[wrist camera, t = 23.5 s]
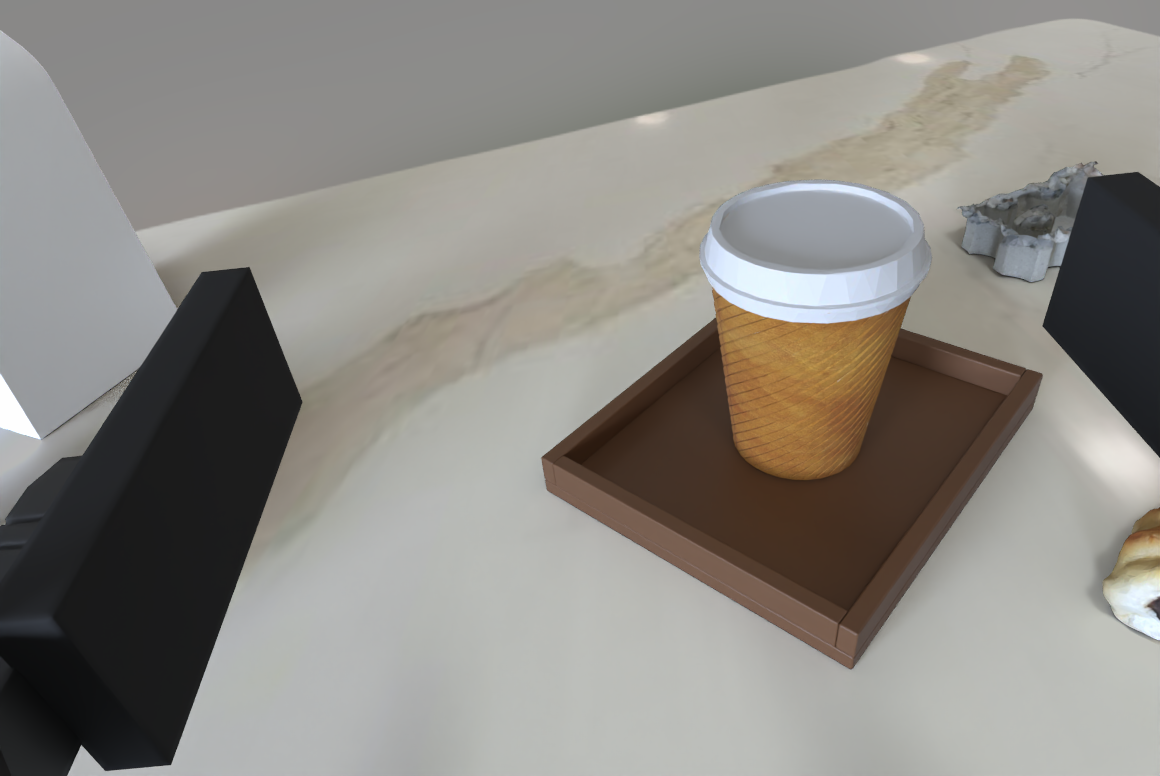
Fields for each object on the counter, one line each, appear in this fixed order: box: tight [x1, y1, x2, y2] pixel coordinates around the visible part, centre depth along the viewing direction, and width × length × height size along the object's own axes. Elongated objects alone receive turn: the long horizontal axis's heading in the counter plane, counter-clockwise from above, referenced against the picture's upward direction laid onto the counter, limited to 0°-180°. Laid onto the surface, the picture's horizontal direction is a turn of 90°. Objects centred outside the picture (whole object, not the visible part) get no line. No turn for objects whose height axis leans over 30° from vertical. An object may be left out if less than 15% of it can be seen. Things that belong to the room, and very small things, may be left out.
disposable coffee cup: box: [700, 180, 932, 480], centre depth 38 cm, size 10×10×12 cm
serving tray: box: [541, 318, 1043, 669], centre depth 41 cm, size 17×20×2 cm
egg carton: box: [957, 162, 1105, 282], centre depth 53 cm, size 11×8×4 cm
